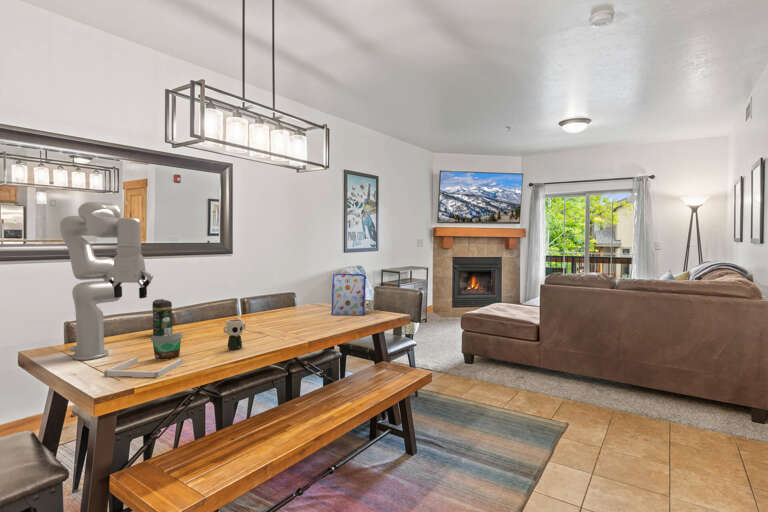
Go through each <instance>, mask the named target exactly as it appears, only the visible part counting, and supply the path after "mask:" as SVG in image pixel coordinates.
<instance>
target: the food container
mask: <svg viewBox="0 0 768 512" xmlns="http://www.w3.org/2000/svg"><path fill="white" fill-rule="evenodd" d="M183 337H184V335H183V332H179V333H172V334H166V335H163V336H154V335H153V334H152V335H151V336H150V341H151V342H152V346H153V352H154V353H153V355H154V359H155V358H156V359H155V360H158V359H167V360H172V358H173V359H176V358H178V357H180V355H181V354H180V353H181V344H182V343H181V342H182V338H183ZM175 357H176V358H175Z"/></svg>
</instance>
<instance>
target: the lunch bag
mask: <svg viewBox="0 0 768 512" xmlns="http://www.w3.org/2000/svg"><path fill="white" fill-rule="evenodd" d="M366 279H367V276H366V274H363V273H343V272H342V273H333V274H332V283H331V284H332V286H331V287H332V288H331V313H330V314H331V315H334V316H365V310H366V297H367V296H366V283H367V282H366V281H367V280H366Z"/></svg>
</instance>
